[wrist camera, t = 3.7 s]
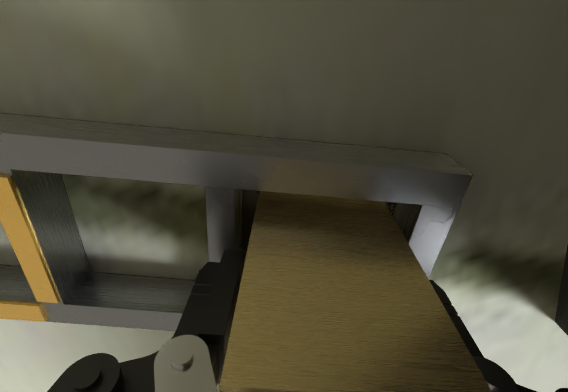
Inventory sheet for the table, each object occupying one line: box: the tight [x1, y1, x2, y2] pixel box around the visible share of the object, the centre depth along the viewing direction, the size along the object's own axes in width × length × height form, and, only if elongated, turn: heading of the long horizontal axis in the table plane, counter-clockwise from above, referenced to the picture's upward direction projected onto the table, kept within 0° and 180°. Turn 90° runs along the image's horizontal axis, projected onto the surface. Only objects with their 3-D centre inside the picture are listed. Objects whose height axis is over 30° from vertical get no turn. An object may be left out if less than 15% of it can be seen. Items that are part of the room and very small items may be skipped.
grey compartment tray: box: [0, 113, 473, 331], centre depth 12 cm, size 24×9×2 cm, turn 85°
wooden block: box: [219, 191, 492, 392], centre depth 10 cm, size 5×5×8 cm
